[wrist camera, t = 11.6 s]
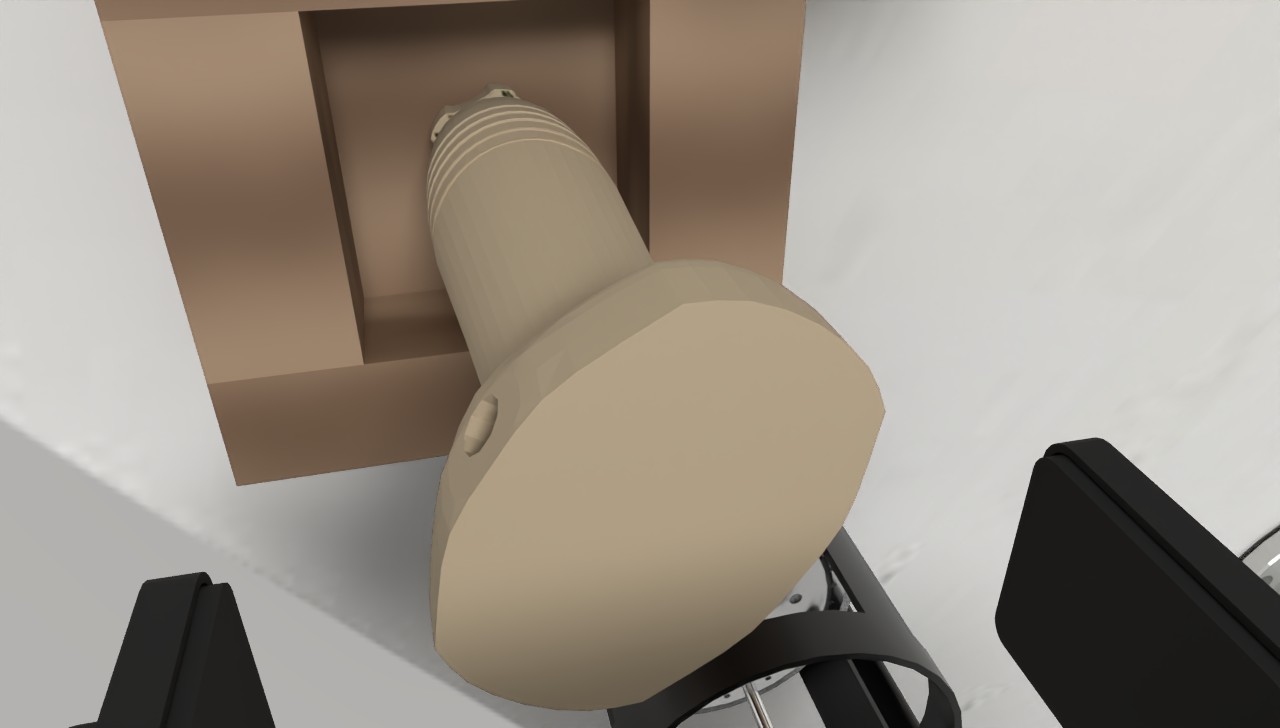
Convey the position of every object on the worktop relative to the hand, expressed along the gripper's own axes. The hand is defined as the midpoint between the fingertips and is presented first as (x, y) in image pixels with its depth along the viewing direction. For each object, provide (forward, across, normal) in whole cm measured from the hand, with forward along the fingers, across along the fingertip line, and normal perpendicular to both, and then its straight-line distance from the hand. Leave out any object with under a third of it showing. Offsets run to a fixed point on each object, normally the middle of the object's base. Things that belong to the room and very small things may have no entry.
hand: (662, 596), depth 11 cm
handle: (+16, +1, 0) cm, 16 cm away
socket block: (+17, +1, -1) cm, 17 cm away
